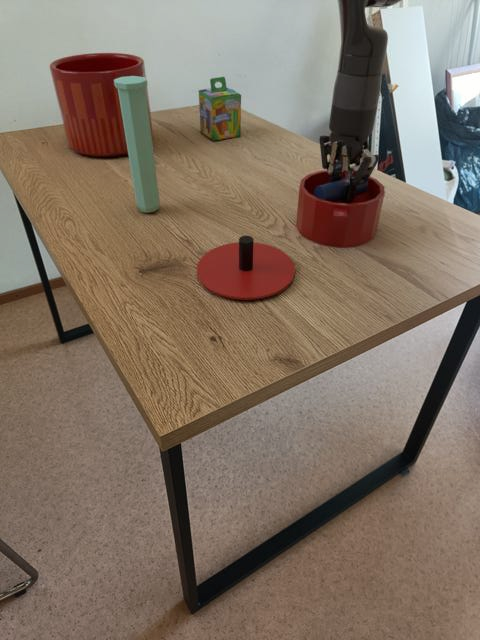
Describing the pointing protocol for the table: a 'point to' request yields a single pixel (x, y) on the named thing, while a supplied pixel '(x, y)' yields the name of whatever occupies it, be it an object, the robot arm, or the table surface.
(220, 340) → the table surface
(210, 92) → the chalk box
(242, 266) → the pot lid
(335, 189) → the tube
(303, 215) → the pot
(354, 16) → the robot arm
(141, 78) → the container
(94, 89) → the planter
